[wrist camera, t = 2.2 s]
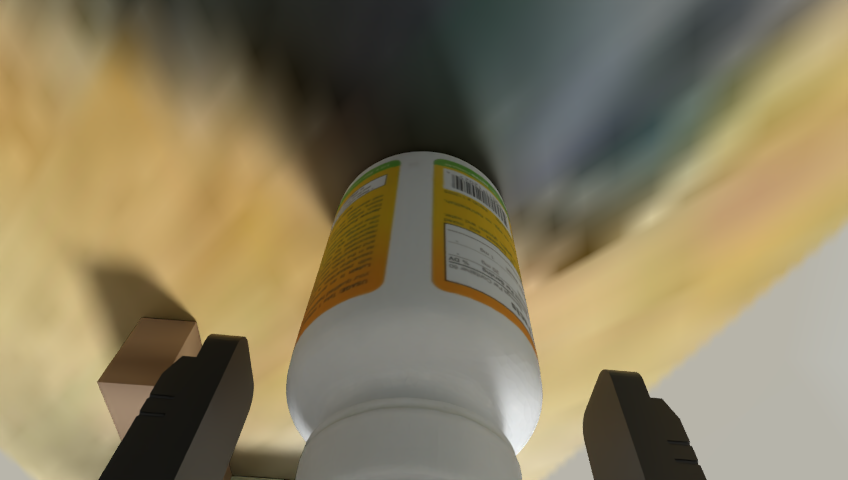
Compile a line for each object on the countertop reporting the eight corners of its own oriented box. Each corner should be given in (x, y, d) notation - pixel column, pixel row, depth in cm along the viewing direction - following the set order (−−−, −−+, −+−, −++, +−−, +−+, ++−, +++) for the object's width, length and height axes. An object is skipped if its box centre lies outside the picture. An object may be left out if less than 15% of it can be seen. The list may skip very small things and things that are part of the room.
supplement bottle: (348, 290, 18) (275, 610, 10) (327, 147, 15) (199, 443, 7) (503, 289, 18) (553, 616, 10) (514, 144, 15) (597, 446, 7)
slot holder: (141, 317, 19) (96, 382, 17) (439, 340, 19) (439, 406, 17) (196, 496, 26) (171, 560, 24) (417, 511, 26) (414, 576, 24)
